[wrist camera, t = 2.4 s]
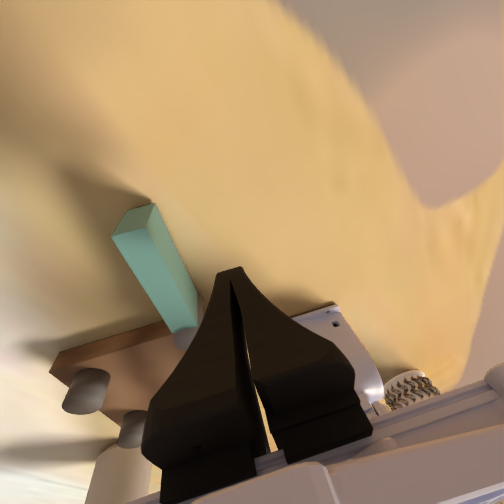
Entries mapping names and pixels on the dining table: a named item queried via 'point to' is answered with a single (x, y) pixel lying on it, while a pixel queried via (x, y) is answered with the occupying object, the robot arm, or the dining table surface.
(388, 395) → the grey patterned cylinder piece
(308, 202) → the dining table surface
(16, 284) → the dining table surface
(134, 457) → the can
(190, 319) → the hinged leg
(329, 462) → the robot arm
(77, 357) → the stool seat
